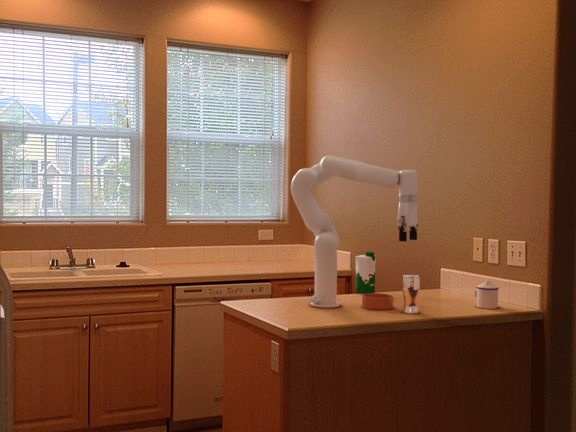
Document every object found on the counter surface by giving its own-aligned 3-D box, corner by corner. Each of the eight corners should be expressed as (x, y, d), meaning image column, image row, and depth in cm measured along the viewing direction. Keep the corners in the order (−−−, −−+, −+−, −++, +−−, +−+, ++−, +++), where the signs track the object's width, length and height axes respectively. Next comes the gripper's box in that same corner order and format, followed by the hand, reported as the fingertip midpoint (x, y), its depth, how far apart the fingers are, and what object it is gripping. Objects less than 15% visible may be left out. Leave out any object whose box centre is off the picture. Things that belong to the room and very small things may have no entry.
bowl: (380, 311, 270) (380, 299, 270) (355, 307, 279) (355, 295, 279) (399, 307, 279) (399, 296, 279) (374, 303, 288) (374, 292, 288)
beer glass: (415, 314, 264) (416, 277, 263) (399, 312, 267) (399, 276, 267) (421, 312, 270) (422, 275, 269) (405, 310, 273) (406, 274, 273)
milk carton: (370, 295, 312) (370, 253, 311) (352, 293, 317) (353, 251, 316) (377, 292, 320) (378, 251, 319) (360, 291, 324) (360, 250, 323)
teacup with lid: (502, 308, 280) (503, 281, 280) (486, 309, 276) (487, 282, 276) (482, 303, 291) (483, 277, 290) (466, 305, 287) (467, 278, 286)
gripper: (409, 199, 283) (409, 239, 283) (390, 199, 269) (390, 241, 269) (425, 199, 278) (425, 239, 279) (407, 199, 264) (407, 242, 265)
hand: (408, 240), depth 274 cm, fingers open, 9 cm apart
